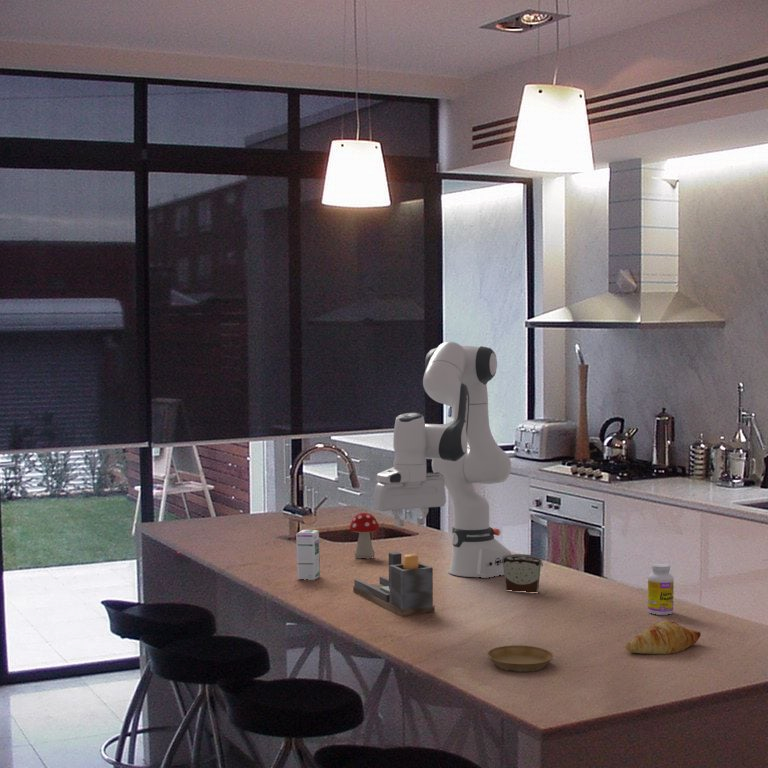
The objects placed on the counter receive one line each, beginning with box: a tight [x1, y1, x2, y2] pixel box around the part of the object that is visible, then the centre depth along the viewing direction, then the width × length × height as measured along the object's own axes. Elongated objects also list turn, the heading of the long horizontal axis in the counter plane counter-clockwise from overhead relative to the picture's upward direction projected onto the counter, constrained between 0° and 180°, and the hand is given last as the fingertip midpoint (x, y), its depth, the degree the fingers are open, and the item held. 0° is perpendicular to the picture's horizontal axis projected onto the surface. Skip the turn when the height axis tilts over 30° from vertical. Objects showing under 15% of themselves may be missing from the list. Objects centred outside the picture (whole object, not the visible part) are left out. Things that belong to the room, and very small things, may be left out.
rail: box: [352, 561, 435, 617], centre depth 325 cm, size 10×32×12 cm, turn 25°
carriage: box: [380, 551, 403, 594], centre depth 323 cm, size 6×8×12 cm
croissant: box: [625, 620, 701, 655], centre depth 275 cm, size 21×10×8 cm, turn 116°
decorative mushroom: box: [349, 512, 380, 559], centre depth 387 cm, size 10×9×15 cm
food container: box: [501, 553, 544, 593], centre depth 337 cm, size 12×6×10 cm, turn 65°
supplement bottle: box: [647, 562, 675, 616], centre depth 309 cm, size 7×7×13 cm
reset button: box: [402, 553, 419, 570], centre depth 313 cm, size 4×4×6 cm
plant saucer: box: [487, 644, 554, 672], centre depth 263 cm, size 15×15×3 cm
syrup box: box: [295, 529, 321, 581], centre depth 356 cm, size 6×6×14 cm
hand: (410, 525), depth 313 cm, fingers open, 5 cm apart
